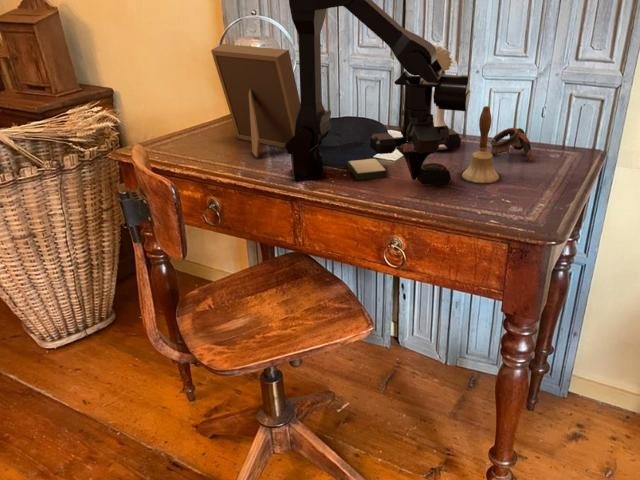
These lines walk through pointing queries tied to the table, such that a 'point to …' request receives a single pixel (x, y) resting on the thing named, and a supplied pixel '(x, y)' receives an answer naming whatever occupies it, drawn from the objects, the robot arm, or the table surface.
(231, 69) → the photo frame
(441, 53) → the flower in vase
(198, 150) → the table surface
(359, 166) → the tan flat block
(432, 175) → the tape measure
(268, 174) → the table surface
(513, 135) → the brown leather strap
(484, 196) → the table surface
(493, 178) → the hand bell
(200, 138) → the table surface
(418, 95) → the robot arm
